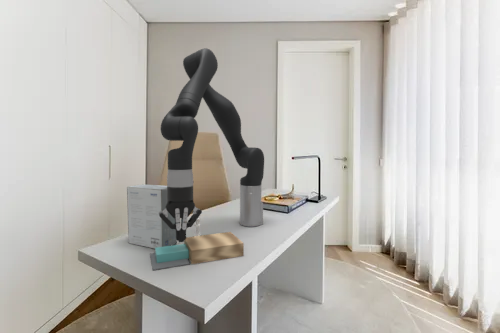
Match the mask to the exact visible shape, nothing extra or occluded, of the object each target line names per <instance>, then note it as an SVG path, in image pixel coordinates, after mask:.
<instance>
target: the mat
mask: <svg viewBox="0 0 500 333" xmlns="http://www.w3.org/2000/svg"><path fill="white" fill-rule="evenodd" d="M149 257H150V263H151V268H152V271H159V270H166V269H171V268H178V267H183V266H184V267H185V266H189V265H191V262H190V260H189V258H187V259H181V260H174V261H168V262H161V263H157V260H156V256H155V252H153V253H149Z"/></svg>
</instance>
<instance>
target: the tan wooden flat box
mask: <svg viewBox="0 0 500 333" xmlns="http://www.w3.org/2000/svg"><path fill="white" fill-rule="evenodd" d="M183 244H185V245H186V246H187V248H188V250H189V258H188V261H189V263H190V265H196V264H200V263H208V262H214V261H220V260H225V259H226V260H227V259H232V258H238V257H239V258H240V257H244V251H245V250H244V249H245V248H244V246H245V244H244V242H243V241H242V240H241V239H239V238H238V237H237V236H236V235H235V234H234V233H232V232H231V231H228V232H227V231H226V232H218V233H211V234H202V235H201V236H195V235H194V236H186V240H184V242H183Z"/></svg>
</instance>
